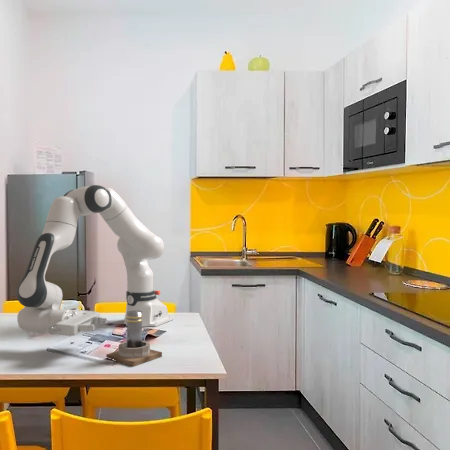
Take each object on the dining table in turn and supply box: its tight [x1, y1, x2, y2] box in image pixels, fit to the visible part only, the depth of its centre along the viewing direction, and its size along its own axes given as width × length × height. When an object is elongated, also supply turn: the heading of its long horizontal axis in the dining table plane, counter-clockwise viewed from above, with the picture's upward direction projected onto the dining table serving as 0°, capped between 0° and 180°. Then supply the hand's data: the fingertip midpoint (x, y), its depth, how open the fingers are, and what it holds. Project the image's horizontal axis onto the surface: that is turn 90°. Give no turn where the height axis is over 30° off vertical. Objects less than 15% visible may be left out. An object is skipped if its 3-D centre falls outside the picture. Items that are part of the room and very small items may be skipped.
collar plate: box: [106, 340, 163, 368], centre depth 168 cm, size 13×13×4 cm
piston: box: [126, 310, 143, 348], centre depth 168 cm, size 5×5×14 cm
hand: (100, 324), depth 170 cm, fingers open, 8 cm apart
